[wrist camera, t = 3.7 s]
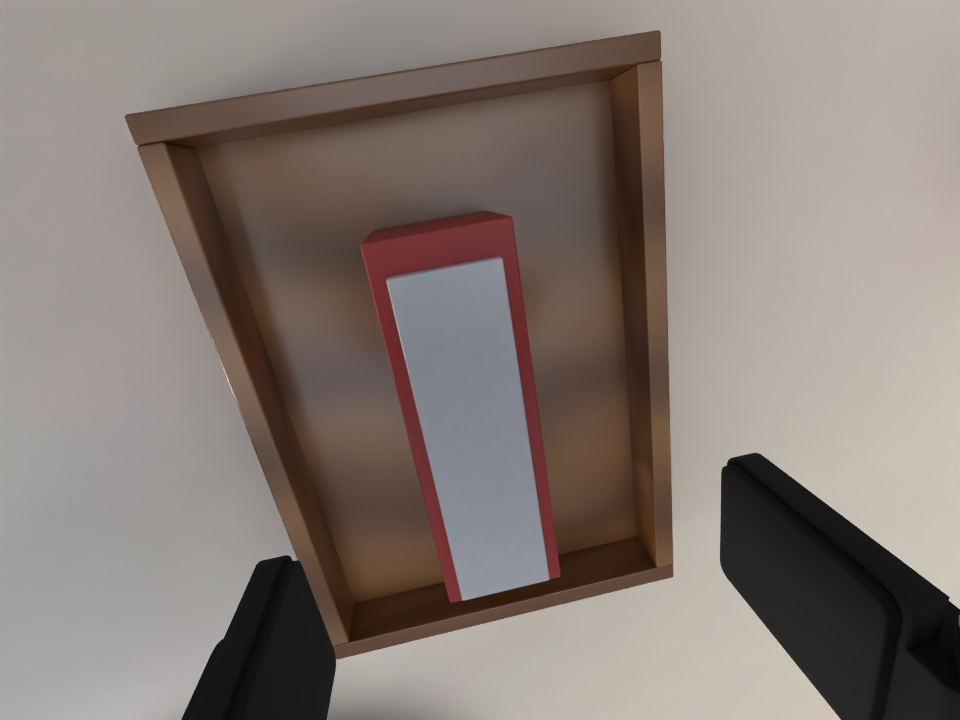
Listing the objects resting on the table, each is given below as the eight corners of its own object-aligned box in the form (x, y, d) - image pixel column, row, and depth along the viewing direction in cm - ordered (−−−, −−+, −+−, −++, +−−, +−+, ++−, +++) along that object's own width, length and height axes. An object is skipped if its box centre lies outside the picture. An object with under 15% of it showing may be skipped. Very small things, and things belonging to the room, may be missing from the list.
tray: (166, 126, 15) (122, 114, 13) (625, 52, 16) (661, 29, 14) (343, 612, 23) (336, 660, 20) (648, 539, 24) (673, 577, 22)
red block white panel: (372, 230, 17) (357, 245, 12) (487, 209, 17) (515, 216, 12) (442, 521, 21) (450, 613, 17) (531, 500, 22) (564, 585, 17)
